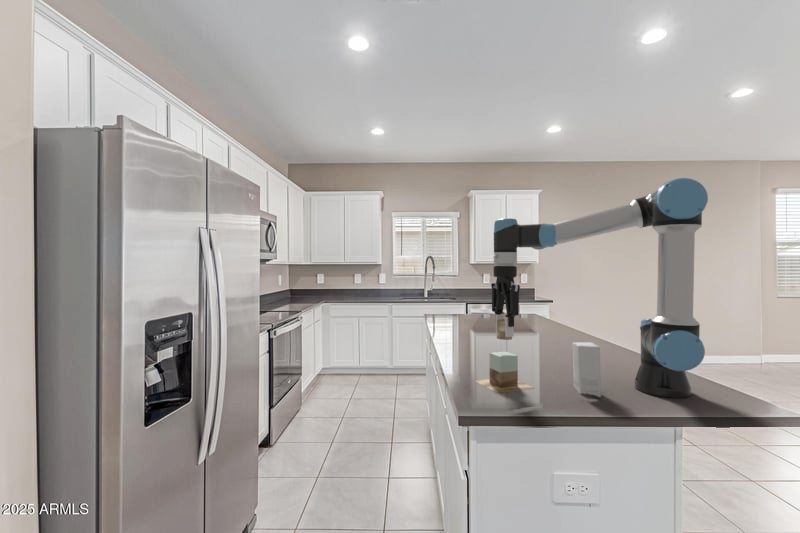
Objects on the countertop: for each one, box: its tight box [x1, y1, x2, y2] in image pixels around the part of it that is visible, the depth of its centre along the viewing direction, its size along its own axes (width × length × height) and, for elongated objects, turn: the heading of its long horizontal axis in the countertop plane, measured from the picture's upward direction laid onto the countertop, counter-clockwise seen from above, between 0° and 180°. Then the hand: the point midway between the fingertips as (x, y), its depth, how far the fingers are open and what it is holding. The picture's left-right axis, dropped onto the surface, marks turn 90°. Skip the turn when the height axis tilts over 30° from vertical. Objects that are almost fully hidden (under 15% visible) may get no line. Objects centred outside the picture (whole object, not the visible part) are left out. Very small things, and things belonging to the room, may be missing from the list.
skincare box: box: [571, 341, 602, 398], centre depth 124 cm, size 8×7×16 cm
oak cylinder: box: [496, 318, 513, 341], centre depth 131 cm, size 5×5×6 cm
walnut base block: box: [489, 367, 519, 388], centre depth 130 cm, size 6×6×5 cm
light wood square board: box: [474, 378, 535, 394], centre depth 130 cm, size 14×14×1 cm
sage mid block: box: [489, 351, 519, 373], centre depth 130 cm, size 6×6×5 cm
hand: (504, 334), depth 132 cm, fingers closed on oak cylinder, 5 cm apart
